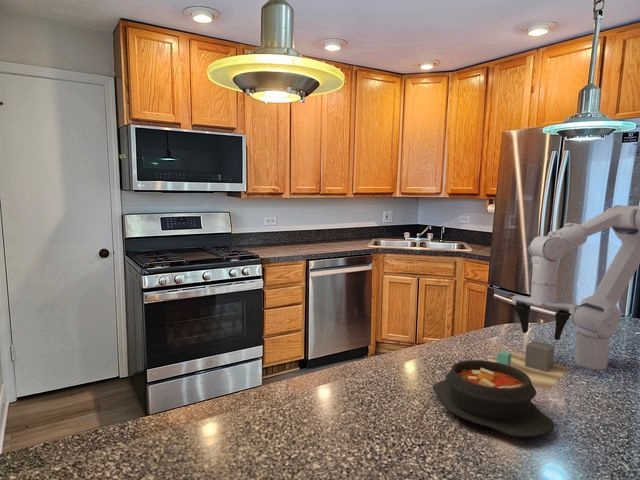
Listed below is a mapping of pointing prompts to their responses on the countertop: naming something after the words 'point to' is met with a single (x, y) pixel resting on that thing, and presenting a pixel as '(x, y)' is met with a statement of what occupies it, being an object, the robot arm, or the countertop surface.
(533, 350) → the grey cube
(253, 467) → the countertop surface
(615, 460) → the countertop surface
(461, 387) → the casserole
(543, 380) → the board
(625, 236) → the robot arm
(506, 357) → the sage green cube
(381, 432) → the countertop surface
